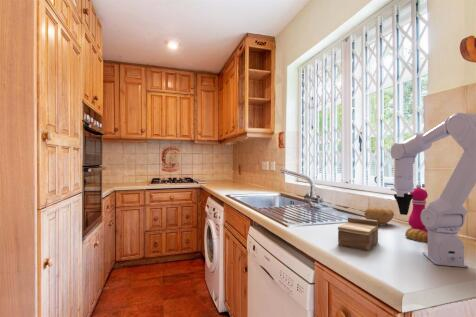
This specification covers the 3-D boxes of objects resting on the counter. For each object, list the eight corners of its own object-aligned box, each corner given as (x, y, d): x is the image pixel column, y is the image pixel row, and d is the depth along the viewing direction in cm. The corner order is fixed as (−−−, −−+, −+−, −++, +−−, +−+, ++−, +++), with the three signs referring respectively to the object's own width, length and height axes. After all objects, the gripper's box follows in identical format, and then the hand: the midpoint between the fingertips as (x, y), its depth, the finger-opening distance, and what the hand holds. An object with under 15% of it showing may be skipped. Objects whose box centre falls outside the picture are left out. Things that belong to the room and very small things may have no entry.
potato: (400, 226, 119) (400, 208, 119) (374, 228, 116) (374, 209, 116) (384, 221, 129) (384, 204, 129) (359, 222, 125) (359, 206, 126)
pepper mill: (420, 236, 103) (419, 185, 103) (404, 231, 110) (403, 183, 110) (434, 235, 105) (434, 184, 105) (417, 230, 112) (417, 183, 112)
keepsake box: (368, 251, 86) (368, 236, 86) (338, 245, 93) (338, 231, 93) (378, 242, 95) (377, 229, 95) (349, 237, 102) (349, 224, 102)
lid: (368, 235, 86) (368, 227, 86) (338, 230, 93) (338, 222, 93) (377, 228, 95) (377, 220, 95) (349, 224, 102) (349, 216, 102)
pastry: (440, 242, 96) (440, 232, 96) (429, 245, 93) (428, 234, 93) (413, 235, 105) (413, 226, 105) (402, 238, 102) (402, 228, 102)
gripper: (395, 175, 103) (395, 209, 103) (386, 177, 92) (386, 216, 92) (416, 175, 98) (416, 212, 98) (410, 178, 87) (410, 219, 87)
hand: (403, 214), depth 95 cm, fingers closed
